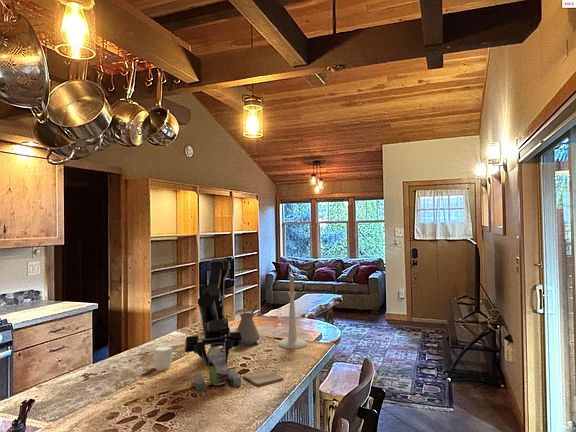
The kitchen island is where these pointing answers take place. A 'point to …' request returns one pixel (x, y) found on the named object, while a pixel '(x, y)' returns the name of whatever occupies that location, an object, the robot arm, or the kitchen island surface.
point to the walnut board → (263, 377)
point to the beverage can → (217, 365)
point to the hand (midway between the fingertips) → (217, 364)
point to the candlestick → (292, 325)
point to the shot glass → (162, 357)
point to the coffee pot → (248, 328)
